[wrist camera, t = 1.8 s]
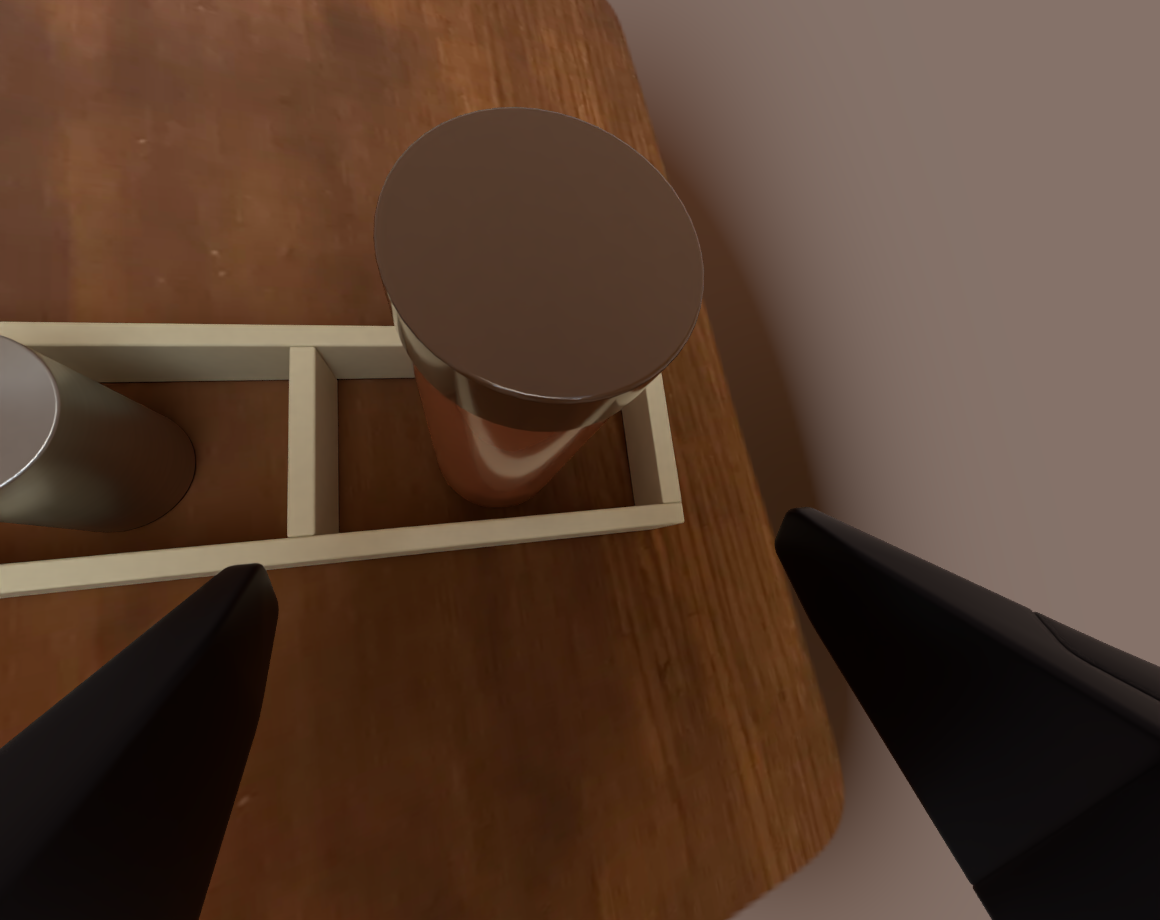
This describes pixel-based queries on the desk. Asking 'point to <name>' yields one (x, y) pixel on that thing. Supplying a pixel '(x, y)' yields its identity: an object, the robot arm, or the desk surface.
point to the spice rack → (312, 449)
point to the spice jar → (531, 289)
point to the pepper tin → (82, 450)
